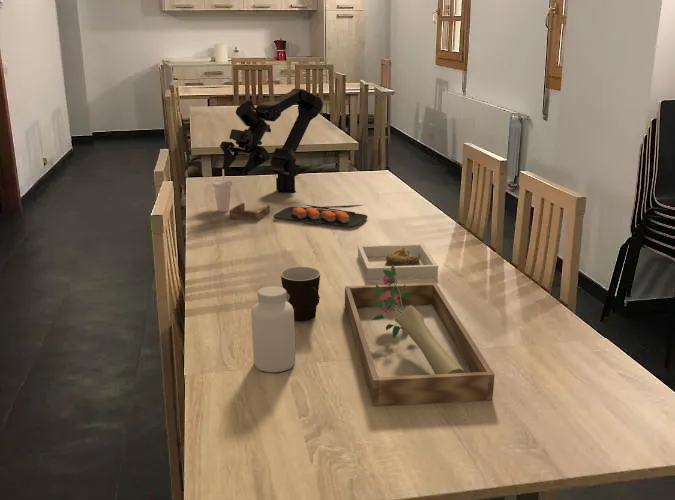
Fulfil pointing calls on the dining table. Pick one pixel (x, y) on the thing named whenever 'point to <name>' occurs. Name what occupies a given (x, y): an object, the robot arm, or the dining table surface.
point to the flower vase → (414, 327)
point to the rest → (248, 213)
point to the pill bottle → (273, 331)
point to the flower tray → (420, 386)
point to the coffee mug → (302, 291)
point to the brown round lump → (401, 258)
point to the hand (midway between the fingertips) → (233, 171)
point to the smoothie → (222, 193)
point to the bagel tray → (401, 271)
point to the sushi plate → (322, 216)
